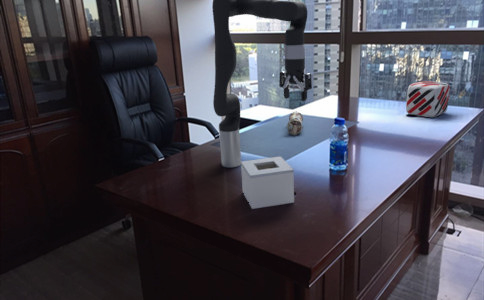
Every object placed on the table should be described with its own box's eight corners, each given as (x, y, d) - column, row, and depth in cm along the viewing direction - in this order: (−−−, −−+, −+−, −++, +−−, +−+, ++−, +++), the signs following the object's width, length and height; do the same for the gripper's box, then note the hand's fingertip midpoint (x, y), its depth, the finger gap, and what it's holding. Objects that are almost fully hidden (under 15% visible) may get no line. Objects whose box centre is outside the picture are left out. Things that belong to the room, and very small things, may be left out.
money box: (242, 192, 158) (240, 161, 154) (281, 186, 162) (280, 156, 157) (252, 208, 144) (250, 175, 140) (294, 202, 148) (293, 169, 143)
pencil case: (302, 135, 227) (302, 118, 224) (287, 135, 229) (286, 118, 226) (303, 125, 248) (302, 109, 245) (289, 125, 249) (289, 109, 246)
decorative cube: (418, 109, 269) (421, 79, 263) (449, 113, 255) (452, 82, 248) (403, 114, 258) (405, 83, 251) (433, 119, 243) (437, 86, 236)
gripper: (274, 57, 154) (275, 99, 159) (303, 58, 144) (303, 103, 149) (287, 55, 159) (287, 95, 164) (316, 56, 148) (315, 99, 154)
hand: (295, 99), depth 156 cm, fingers open, 8 cm apart
